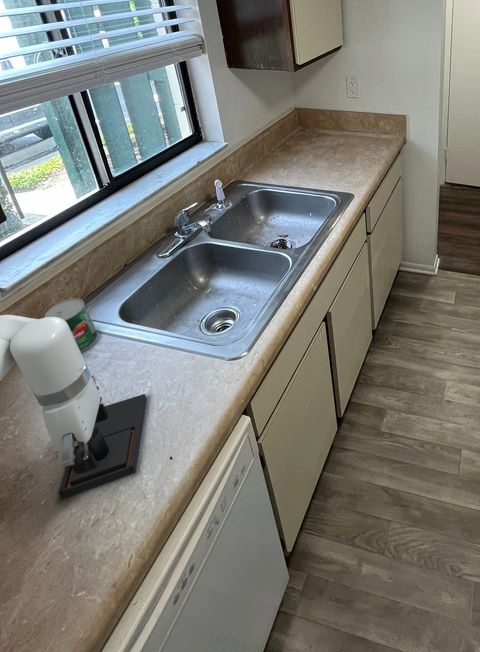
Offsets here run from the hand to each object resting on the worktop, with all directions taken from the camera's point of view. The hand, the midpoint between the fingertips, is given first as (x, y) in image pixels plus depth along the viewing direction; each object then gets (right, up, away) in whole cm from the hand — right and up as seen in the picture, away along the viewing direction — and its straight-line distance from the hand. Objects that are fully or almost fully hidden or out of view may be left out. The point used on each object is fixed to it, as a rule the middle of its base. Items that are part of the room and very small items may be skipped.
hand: (93, 443), depth 82 cm
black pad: (0, -4, +2) cm, 5 cm away
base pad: (-1, -4, +5) cm, 6 cm away
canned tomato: (-24, +7, +28) cm, 38 cm away
